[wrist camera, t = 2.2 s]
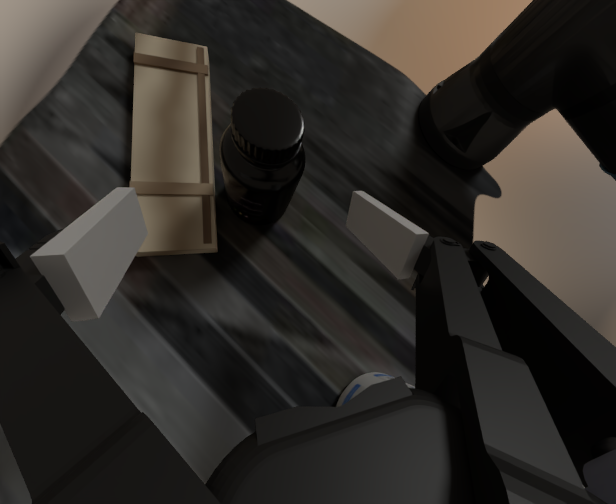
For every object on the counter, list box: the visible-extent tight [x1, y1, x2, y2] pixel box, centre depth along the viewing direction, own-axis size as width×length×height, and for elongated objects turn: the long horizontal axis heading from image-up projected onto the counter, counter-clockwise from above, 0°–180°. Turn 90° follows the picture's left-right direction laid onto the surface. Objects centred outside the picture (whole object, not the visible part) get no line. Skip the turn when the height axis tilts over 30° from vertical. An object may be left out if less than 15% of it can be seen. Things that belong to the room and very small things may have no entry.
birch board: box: [129, 33, 218, 257], centre depth 23 cm, size 7×24×2 cm, turn 7°
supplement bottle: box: [220, 88, 305, 225], centre depth 20 cm, size 7×7×12 cm
